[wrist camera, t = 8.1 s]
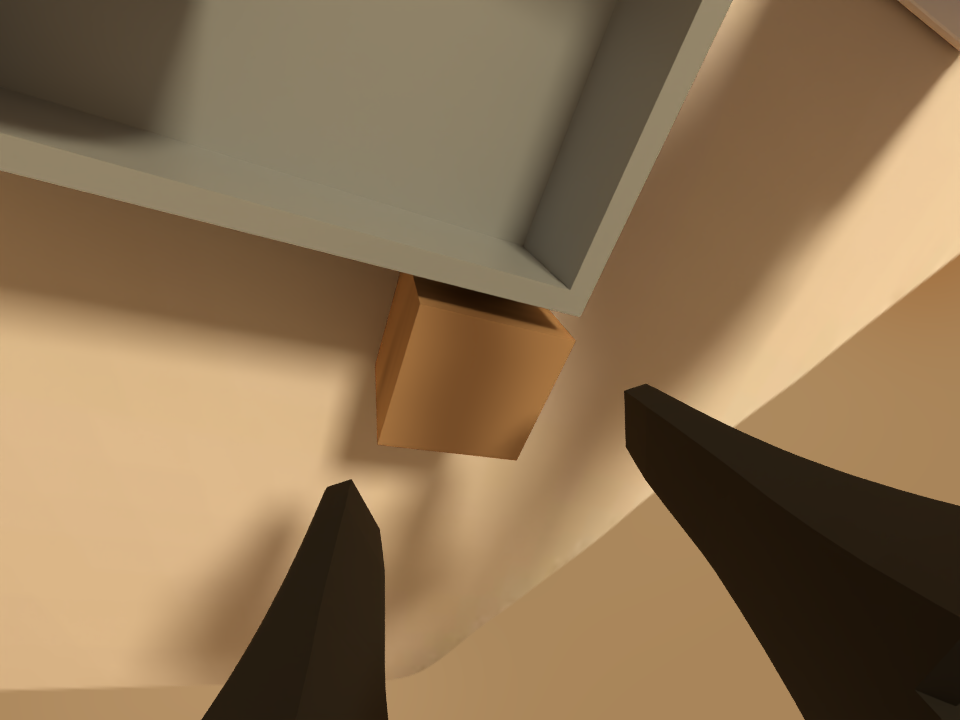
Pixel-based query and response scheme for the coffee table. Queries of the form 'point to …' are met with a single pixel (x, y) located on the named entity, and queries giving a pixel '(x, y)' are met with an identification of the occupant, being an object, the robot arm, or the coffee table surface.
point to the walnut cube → (464, 369)
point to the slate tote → (364, 122)
